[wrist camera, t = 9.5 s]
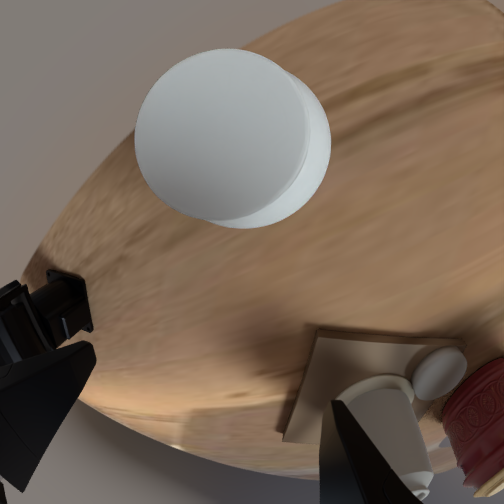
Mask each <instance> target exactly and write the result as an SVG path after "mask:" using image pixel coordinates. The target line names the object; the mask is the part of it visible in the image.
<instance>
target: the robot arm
mask: <svg viewBox="0 0 504 504" xmlns="http://www.w3.org/2000/svg"><path fill="white" fill-rule="evenodd" d="M46 275H47V281H48V284H46V285H44V286H43V287H41V288H39V289H38V290H36V291H34V292H33V293H31V294H29V291H28V287H27V284H25V285H22V286H21V284H20V283H19V282H18V281H17V280H14V281H13V282H11V283H9V284H7V285H6V286H4V287H2V288H0V504H7V500H6V497H5V491H4V486H3V484H2V482H1V480H2V479H3V478H4V479H5V480H7V481H8V482H9V483H10V484H12V485H13V486H14V487H15V488H17V489H18V490H19V491H20V492H22V493H23V492H24V491H25V488H26V487H27V485H28V483H29V480H30V479H31V477H32V475H33V473H34V471H35V469H36V467H37V466H38V464H39V462H40V460H41V458H42V456H43V454H44V453H45V451H46V449H47V447H48V446H49V444H50V442H51V440H52V439H53V437H54V435H55V434H56V432H57V430H58V429H59V427H60V425H61V424H62V422H63V420H64V419H65V417H66V416H67V414H68V412H69V411H70V409H71V407H72V406H73V404H74V403H75V401H76V399H77V398H78V397H79V395H80V393H81V392H82V390H83V388H84V386H85V384H86V382H87V380H88V378H89V376H90V374H91V372H92V370H93V368H94V367H95V365H96V355H95V351H94V348H93V345H92V344H91V343H89V342H87V341H84V340H83V341H79V342H76V343H74V344H71V345H68V346H65V347H62V348H59V349H56V348H58V347H59V346H60V345H61V344H62V343H63V342H65V341H66V340H67V339H68V340H69V339H71V338H72V337H73V336H74V335H75V334H76V333H77V332H79V331H80V330H81V329H82V330H84V331H86V332H89V333H91V332H92V331H93V330H94V329H93V324H92V319H91V314H90V309H89V303H88V297H87V291H86V284H85V282H84V280H83V279H80V278H77V277H73V276H70V275H67V274H64V273H60V272H57V271H54V270H51V269H49V270H47V271H46ZM319 476H320V504H423V503H422V502H421V501H420V500H419V499H418V498H417V497H416V496H415V495H414V494H413V493H412V492H411V491H410V490H409V489H408V487H407V486H406V485H405V484H404V483H403V482H402V480H401V479H400V478H399V477H398V475H397V474H396V473H395V471H394V470H393V469H391V466H390V465H389V464H388V462H387V461H386V459H385V458H384V457H383V455H382V454H381V453H380V451H379V450H378V449H377V447H376V446H375V445H374V443H373V442H372V441H371V439H370V438H369V436H368V435H367V434H366V432H365V431H364V430H363V428H362V427H361V425H360V424H359V423H358V421H357V420H356V419H355V417H354V416H353V414H352V413H351V412H350V410H349V409H348V408H347V406H346V405H345V403H344V402H343V401H342V400H334V399H332V400H330V401H329V403H328V405H327V407H326V409H325V411H324V413H323V417H322V427H321V439H320V450H319Z"/></svg>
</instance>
